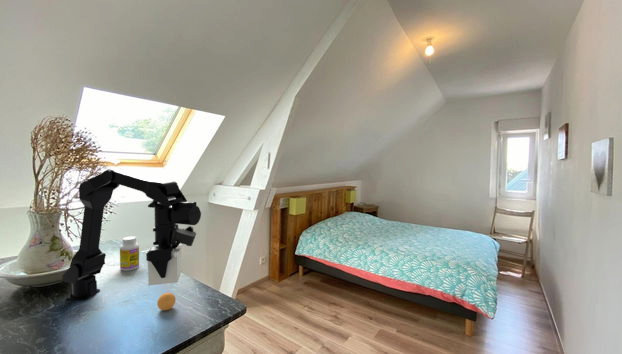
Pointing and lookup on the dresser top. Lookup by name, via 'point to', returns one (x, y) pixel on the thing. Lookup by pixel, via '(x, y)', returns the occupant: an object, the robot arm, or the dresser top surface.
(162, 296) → the ball
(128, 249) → the supplement bottle
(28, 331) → the dresser top surface
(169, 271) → the white cube
